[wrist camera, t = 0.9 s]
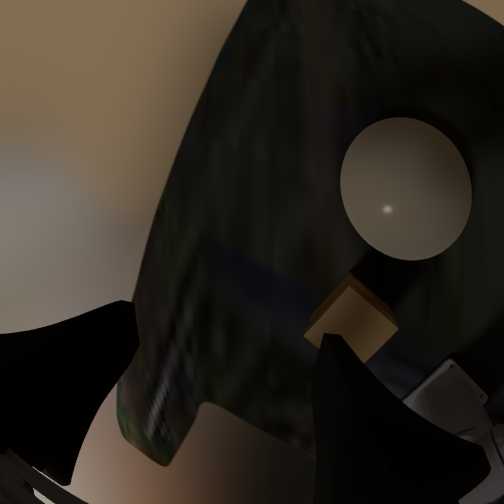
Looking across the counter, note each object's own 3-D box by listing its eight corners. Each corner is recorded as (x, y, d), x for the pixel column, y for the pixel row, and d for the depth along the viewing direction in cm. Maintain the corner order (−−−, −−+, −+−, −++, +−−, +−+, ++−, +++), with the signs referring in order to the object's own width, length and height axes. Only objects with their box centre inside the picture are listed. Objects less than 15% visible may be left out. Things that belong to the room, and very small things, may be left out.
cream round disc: (477, 184, 18) (491, 181, 15) (411, 280, 21) (419, 289, 18) (384, 105, 20) (388, 92, 17) (316, 200, 23) (311, 197, 20)
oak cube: (389, 307, 22) (398, 328, 17) (352, 346, 23) (351, 374, 18) (349, 271, 23) (348, 285, 18) (312, 313, 24) (303, 335, 19)
